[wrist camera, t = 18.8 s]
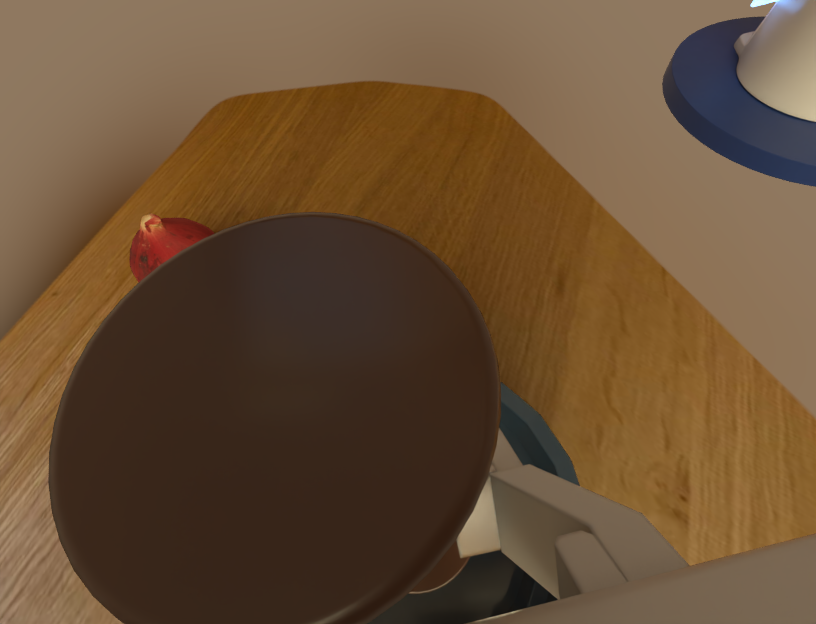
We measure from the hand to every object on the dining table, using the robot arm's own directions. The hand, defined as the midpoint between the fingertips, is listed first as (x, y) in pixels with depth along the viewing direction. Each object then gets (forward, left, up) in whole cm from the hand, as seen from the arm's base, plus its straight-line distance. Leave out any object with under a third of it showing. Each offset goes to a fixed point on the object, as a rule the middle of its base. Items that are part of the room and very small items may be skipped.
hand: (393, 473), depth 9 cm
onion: (+7, -20, -15) cm, 27 cm away
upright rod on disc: (0, +1, -10) cm, 10 cm away
